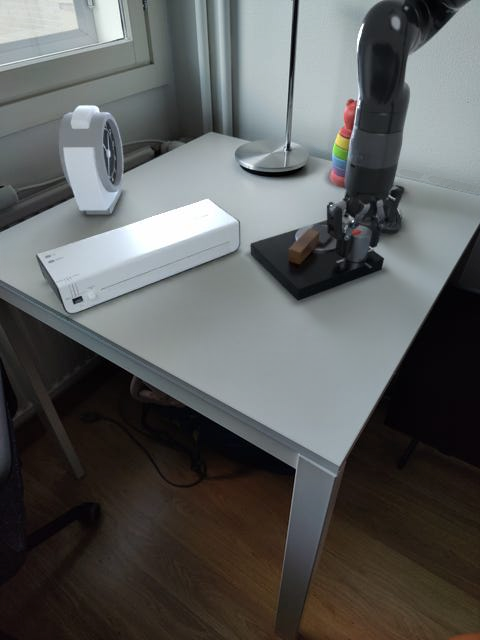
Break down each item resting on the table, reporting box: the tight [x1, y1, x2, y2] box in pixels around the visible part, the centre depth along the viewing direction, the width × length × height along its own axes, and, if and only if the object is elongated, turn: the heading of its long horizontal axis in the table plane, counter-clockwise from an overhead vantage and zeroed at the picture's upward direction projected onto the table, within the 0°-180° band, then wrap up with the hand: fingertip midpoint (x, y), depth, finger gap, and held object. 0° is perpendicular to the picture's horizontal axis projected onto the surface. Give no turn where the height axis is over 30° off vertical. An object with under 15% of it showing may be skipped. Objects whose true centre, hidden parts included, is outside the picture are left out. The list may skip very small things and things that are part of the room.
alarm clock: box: [58, 105, 125, 215], centre depth 97 cm, size 18×8×20 cm, turn 179°
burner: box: [296, 224, 337, 252], centre depth 86 cm, size 9×9×1 cm
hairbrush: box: [359, 184, 406, 235], centre depth 97 cm, size 8×4×25 cm
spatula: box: [289, 222, 332, 264], centre depth 83 cm, size 12×4×3 cm, turn 145°
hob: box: [250, 219, 385, 302], centre depth 84 cm, size 18×17×3 cm
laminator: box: [35, 198, 241, 315], centre depth 82 cm, size 34×12×6 cm, turn 124°
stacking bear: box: [329, 98, 358, 188], centre depth 105 cm, size 11×10×18 cm
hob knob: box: [346, 226, 372, 262], centre depth 80 cm, size 4×4×5 cm
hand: (356, 250), depth 81 cm, fingers open, 6 cm apart
